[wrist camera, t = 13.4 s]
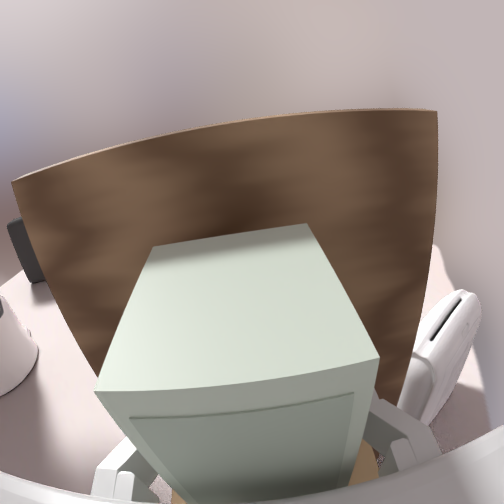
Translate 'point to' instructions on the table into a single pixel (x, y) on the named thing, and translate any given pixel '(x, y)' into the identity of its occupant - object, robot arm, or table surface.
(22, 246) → the dark grey upright block
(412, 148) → the wooden toy chair
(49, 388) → the table surface
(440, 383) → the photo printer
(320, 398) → the sage cabinet
